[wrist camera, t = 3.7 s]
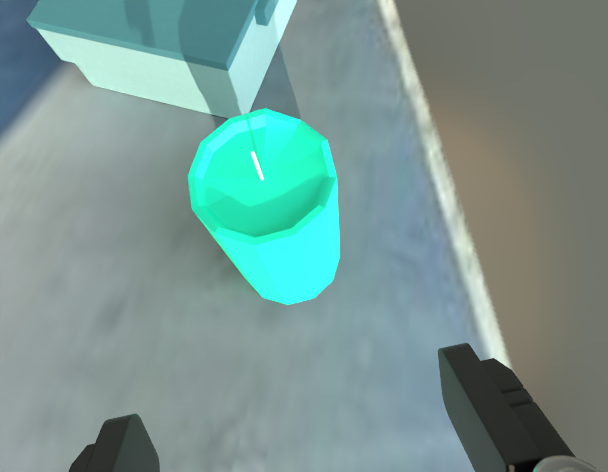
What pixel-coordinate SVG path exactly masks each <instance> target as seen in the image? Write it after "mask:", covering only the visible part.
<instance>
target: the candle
mask: <svg viewBox="0 0 608 472" xmlns="http://www.w3.org/2000/svg"><path fill="white" fill-rule="evenodd" d="M188 183H189V191H190V199H191V208H192V210H193V211H194V213H195V214H196V215H197V217H198V218H199V219H200V221H201V222H202V223H203V224H204V226H205V227H206V228H207V230H208V231H209V232H210V234H211V235H212V236H213V237H214V239H215V240H216V241H217V243H218V244H219V245H220V247H221V248H222V249H223V250H224V252H225V253H226V254H227V256H228V257H229V258H230V260H231V261H232V262H233V263H234V265H235V266H236V267H237V269H238V270H239V271H240V273H241V274H242V275H243V276H244V278H245V279H246V280H247V281H248V282H249V283H250V284H251V286H252V287H253V288H254V289H255V290H256V291H257V292H258V293H259V294H260V295H261V296H262V297H263V298H266V299H270V300H273V301H276V302H280V303H283V304H287V305H288V304H292V303H296V302H301V301H305V300H309V299H313V298H314V297H315V296H317V295H318V294H319V293H320V292H321V291H322V290H323V289H324V288H325V287H326V286H327V285H328V284H329V283H330V282H331V281H333V278H334V275H335V271H336V268H337V264H338V261H339V258H340V243H339V218H338V193H337V176H336V172H335V168H334V164H333V160H332V156H331V153H330V149H329V145H328V141H327V139H326V138H324V137H323V136H322V135H320V134H319V133H318V132H316V131H315V130H314V129H312V128H311V127H310V126H308V125H307V124H306V123H304V122H303V121H302V120H299V119H296V118H293V117H290V116H287V115H284V114H281V113H278V112H275V111H272V110H269V109H266V108H264V109H261V110H257V111H254V112H250V113H247V114H243V115H240V116H236V117H233V118H229V119H228V120H227V121H226V122H224V123H223V124H222V125H221V126H220V127H218V128H217V129H216V130H215V131H214V132H212V133H211V134H210V135H209V136H208V137H206V138H205V139H204V140H203V141H202V142H201V143H200V145H199V148H198V151H197V153H196V156H195V159H194V161H193V164H192V166H191V169H190V172H189V174H188Z"/></svg>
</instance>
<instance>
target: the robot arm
mask: <svg viewBox="0 0 608 472" xmlns="http://www.w3.org/2000/svg"><path fill="white" fill-rule="evenodd" d="M438 358H439V368H440V378H441V387H442V395H443V400H444V404H445V407H446V410H447V413H448V416H449V418H450V420H451V422H452V424H453V426H454V428H455V430H456V433H457V435H458V437H459V439H460V441H461V443H462V445H463V447H464V449H465V451H466V453H467V455H468V457H469V459H470V462H471V464H472V466H473V468H474V470H475V472H601V471H600V470H598V469H597V468H596V467H594V466H593V465H591V464H590V463H588V462H585V461H584V460H581V459H578V458H576V457H575V455H574V454H573V453H572V452H571V451H570V449H569V448H568V446H567V445H566V444H565V443H564V441H563V440H562V438H561V437H560V436H559V434H558V433H557V431H556V430H555V429H554V427H553V426H552V425H551V423H550V422H549V421H548V419H547V418H546V417H545V415H544V414H543V412H542V411H541V410H540V408H539V407H538V405H537V404H536V403H535V402H533V399H532V397H531V396H530V395H529V393H528V392H527V390H526V389H524V388H523V385H522V384H521V382H520V381H519V379H518V378H517V377H516V376H515V374H514V373H513V371H512V370H511V369H509V368H508V367H506V366H505V365H503V364H502V363H500V362H499V361H497V360H496V359H494V358H493V359H488V360H483V361H480V360H479V358H478V357H477V355H476V354H475V352H474V351H473V349H472V348H471V346H470V345H469V344H468V343H463V344H459V345H454V346H449V347H445V348H440V349H439V350H438ZM69 472H160V466H159V459H158V455H157V453H156V450H155V448H154V446H153V444H152V442H151V440H150V438H149V435H148V433H147V431H146V429H145V427H144V425H143V423H142V420H141V418H140V417H139V416H138V415H137V414H132V415H127V416H122V417H118V418H113V419H109V420H106V421H105V422H104V424H103V426H102V428H101V430H100V433H99V435H98V438H97V440H96V443H95V444H91V445H87V446H86V448H85V449H84V450H83V451H82V452H81V454H80V455H79V456H78V457H77V459H76V460H75V461H74V462H73V463H72V465H71V467H70V470H69Z"/></svg>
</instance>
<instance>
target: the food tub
mask: <svg viewBox="0 0 608 472" xmlns="http://www.w3.org/2000/svg"><path fill="white" fill-rule="evenodd" d="M296 2H297V0H39V1H38V3H37V4H36V6H35V7H34V9H33V10H32V12H31V14H30V15H29V17H28V18H27V22H28V23H29V24H30V25H31V27H33V28H36V29H37V30H38V32H39V33H40V34H41V35H42V36H43V38H44V39H45V40H46V41H47V43H48V44H49V45H50V46H51V48H52V49H53V50H54V51H55V52H56V54H57V55H58V56H59V57H60V59H61V60H64V61H68V62H73V63H75V64H76V65H77V66H78V68H79V69H80V70H81V71H82V73H83V74H84V75H85V77H86V78H87V79H88V80H89V82H90V83H91V84H92V85H93V86H97V87H101V88H105V89H109V90H113V91H117V92H122V93H126V94H130V95H134V96H138V97H142V98H146V99H150V100H154V101H158V102H163V103H167V104H171V105H175V106H179V107H183V108H187V109H191V110H195V111H199V112H204V113H208V114H212V115H216V116H220V117H224V118H228V119H229V118H233V117H236V116H240V115H243V114H247V113H249V111H250V109H251V107H252V104H253V102H254V100H255V97H256V95H257V93H258V90H259V88H260V86H261V83H262V81H263V79H264V76H265V74H266V72H267V70H268V67H269V65H270V63H271V60H272V58H273V56H274V53H275V51H276V49H277V46H278V44H279V42H280V39H281V37H282V35H283V32H284V30H285V28H286V25H287V23H288V21H289V18H290V16H291V14H292V11H293V9H294V7H295V4H296Z"/></svg>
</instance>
